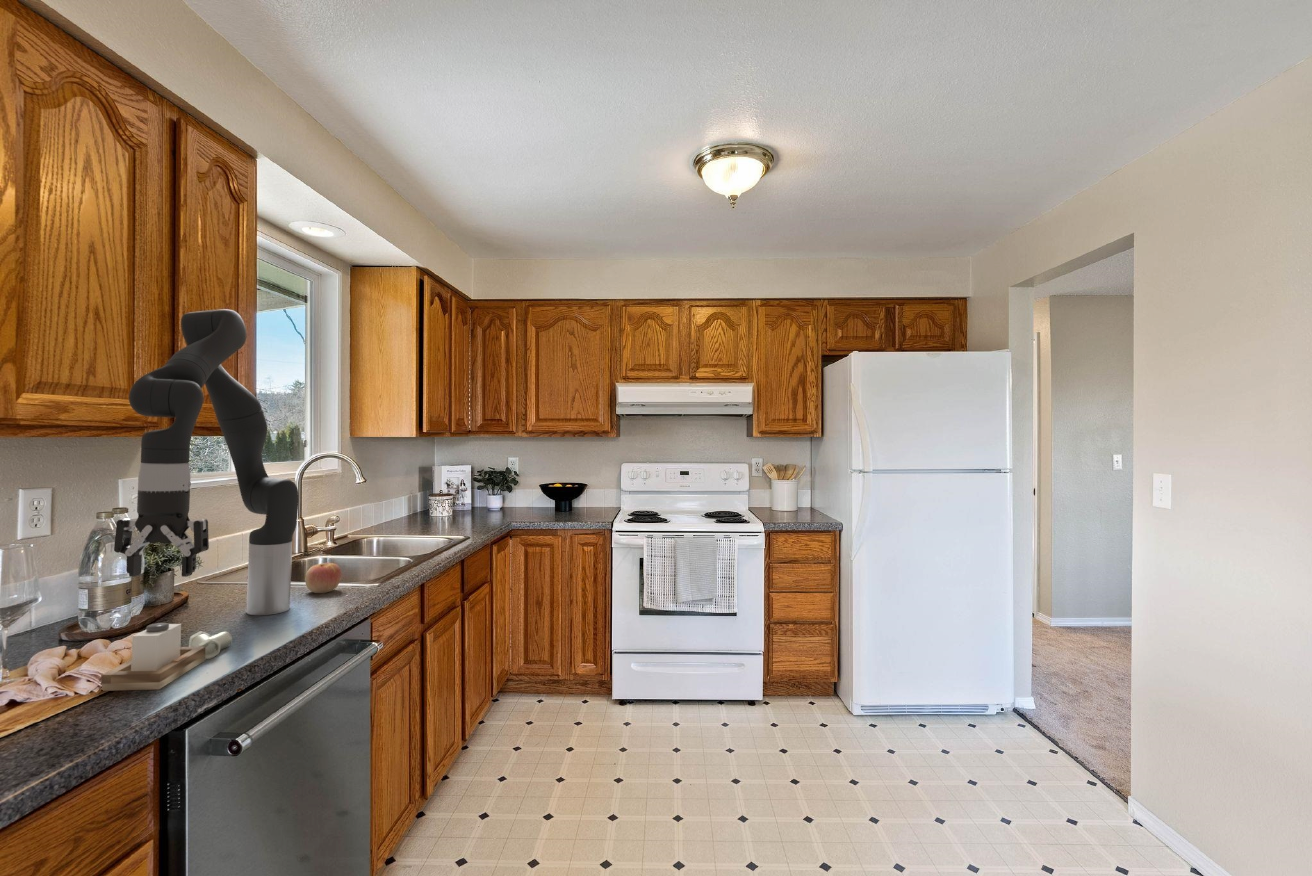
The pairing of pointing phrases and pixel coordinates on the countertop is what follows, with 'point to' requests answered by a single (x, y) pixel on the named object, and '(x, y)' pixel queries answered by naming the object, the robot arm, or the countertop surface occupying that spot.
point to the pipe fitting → (210, 642)
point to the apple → (323, 577)
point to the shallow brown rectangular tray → (152, 672)
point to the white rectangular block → (155, 646)
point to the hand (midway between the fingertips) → (161, 575)
